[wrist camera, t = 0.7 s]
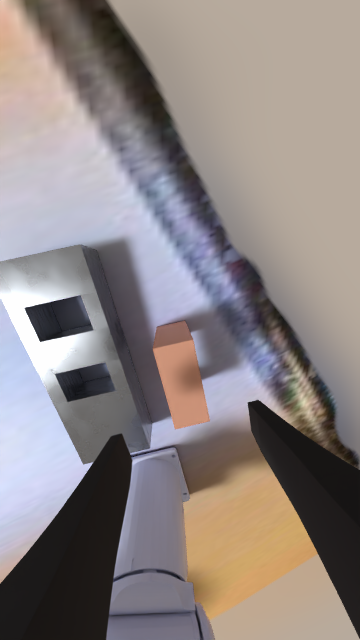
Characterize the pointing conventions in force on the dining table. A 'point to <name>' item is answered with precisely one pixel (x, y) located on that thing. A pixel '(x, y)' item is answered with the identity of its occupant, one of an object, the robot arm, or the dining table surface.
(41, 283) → the gray rectangular frame
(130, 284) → the dining table surface
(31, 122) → the dining table surface
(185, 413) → the orange u-shaped block
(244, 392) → the dining table surface
